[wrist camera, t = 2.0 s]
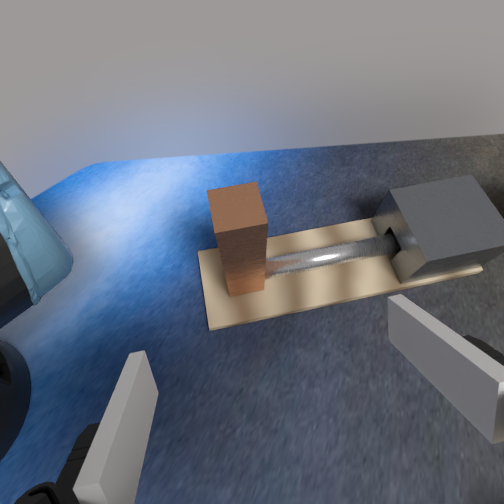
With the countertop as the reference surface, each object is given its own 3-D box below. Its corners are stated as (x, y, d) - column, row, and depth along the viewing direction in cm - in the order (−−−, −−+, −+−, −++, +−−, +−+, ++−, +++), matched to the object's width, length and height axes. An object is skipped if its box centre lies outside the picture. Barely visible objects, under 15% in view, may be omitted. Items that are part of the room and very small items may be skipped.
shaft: (230, 297, 35) (214, 233, 22) (224, 266, 37) (206, 190, 24) (400, 261, 37) (479, 183, 24) (387, 233, 38) (453, 146, 25)
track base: (210, 330, 35) (209, 329, 34) (199, 254, 39) (197, 251, 38) (477, 273, 37) (483, 270, 36) (438, 208, 42) (442, 204, 41)
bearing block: (400, 284, 36) (427, 261, 30) (370, 220, 40) (389, 189, 34) (479, 267, 37) (519, 242, 31) (441, 206, 41) (472, 174, 35)
